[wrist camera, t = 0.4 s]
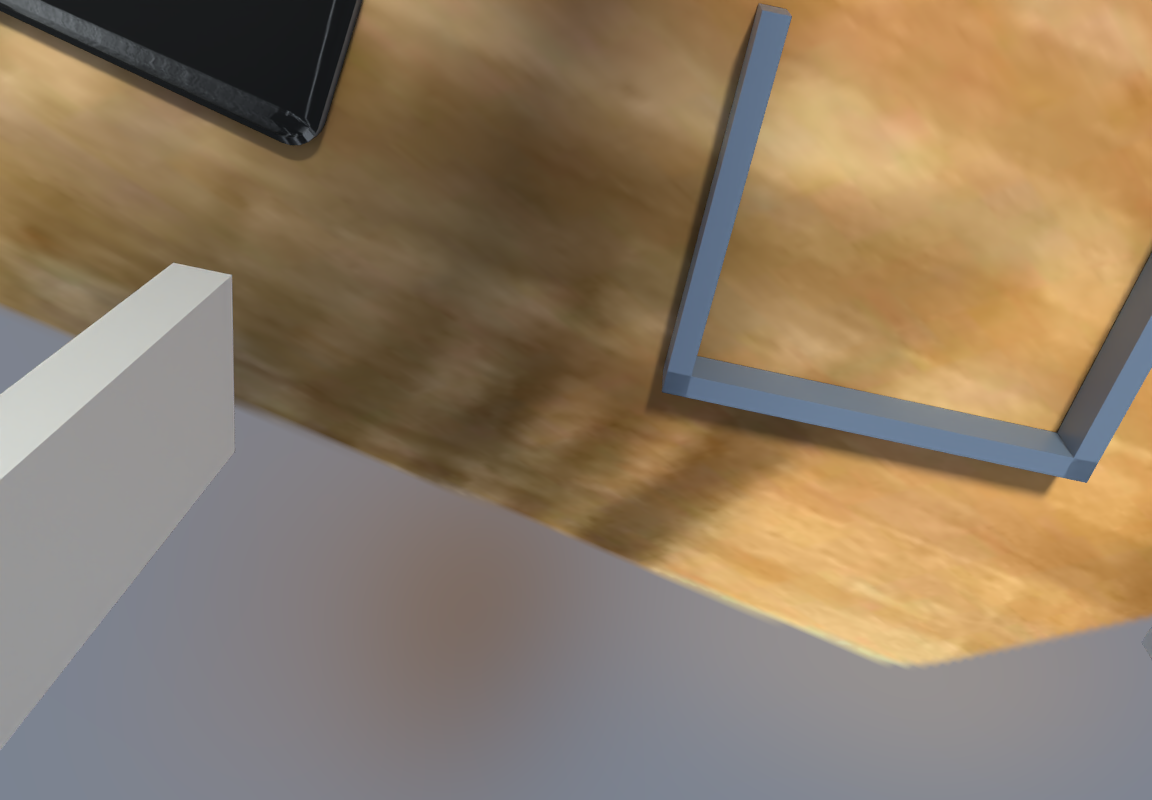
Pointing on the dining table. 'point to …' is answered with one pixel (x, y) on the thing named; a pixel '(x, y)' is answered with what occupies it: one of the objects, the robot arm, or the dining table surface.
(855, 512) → the dining table surface
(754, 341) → the dining table surface
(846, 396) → the frame
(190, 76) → the phone
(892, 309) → the dining table surface
